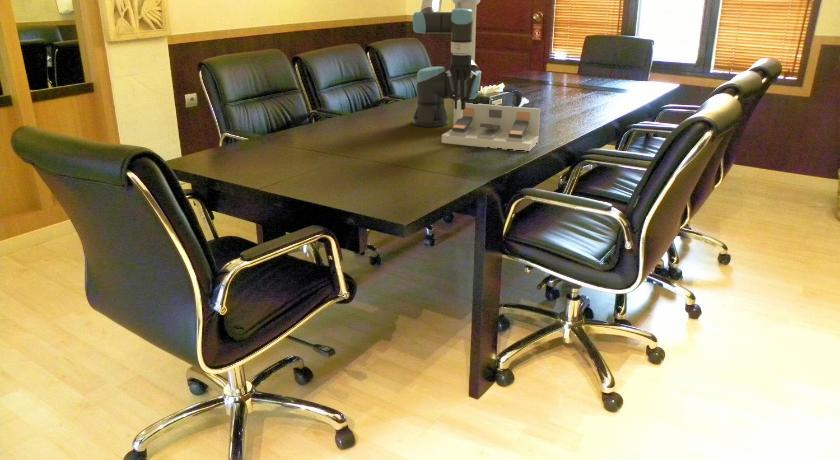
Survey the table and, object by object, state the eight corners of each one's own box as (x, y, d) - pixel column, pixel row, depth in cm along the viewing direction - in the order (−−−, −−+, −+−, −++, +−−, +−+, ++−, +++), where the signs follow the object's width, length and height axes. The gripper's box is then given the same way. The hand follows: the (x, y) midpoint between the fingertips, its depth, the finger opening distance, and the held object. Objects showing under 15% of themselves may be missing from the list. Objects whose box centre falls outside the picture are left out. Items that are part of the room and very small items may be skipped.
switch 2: (479, 126, 238) (480, 122, 238) (487, 127, 247) (487, 124, 247) (492, 127, 236) (493, 124, 236) (499, 129, 246) (500, 125, 245)
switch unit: (441, 142, 245) (442, 108, 240) (453, 134, 257) (454, 102, 252) (529, 151, 233) (531, 116, 228) (538, 142, 245) (540, 108, 240)
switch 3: (508, 136, 236) (508, 133, 235) (515, 122, 243) (515, 119, 242) (521, 137, 234) (521, 134, 233) (528, 123, 241) (528, 120, 240)
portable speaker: (478, 114, 291) (478, 92, 287) (467, 110, 299) (468, 89, 296) (525, 110, 300) (526, 88, 297) (513, 106, 309) (514, 85, 305)
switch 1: (452, 130, 243) (451, 127, 242) (460, 118, 250) (460, 115, 250) (464, 131, 241) (464, 128, 241) (472, 119, 249) (472, 116, 248)
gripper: (440, 54, 232) (440, 118, 241) (475, 56, 227) (473, 121, 237) (447, 51, 238) (446, 114, 247) (481, 53, 233) (479, 117, 243)
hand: (459, 117), depth 242 cm, fingers closed
